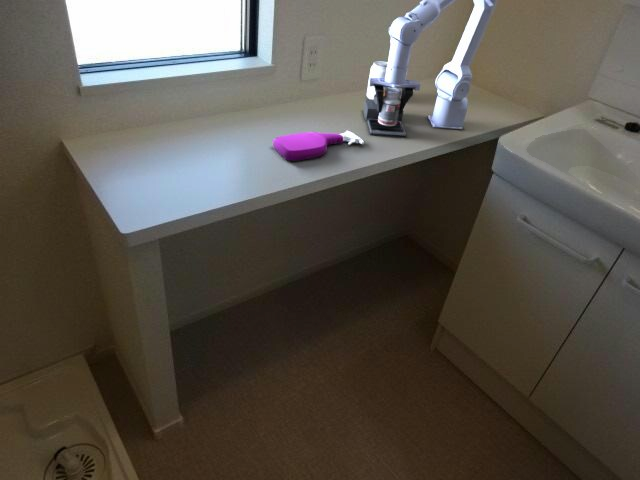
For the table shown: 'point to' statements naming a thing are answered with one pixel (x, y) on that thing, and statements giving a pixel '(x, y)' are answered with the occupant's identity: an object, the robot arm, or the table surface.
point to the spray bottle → (310, 144)
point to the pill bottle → (390, 107)
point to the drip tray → (385, 129)
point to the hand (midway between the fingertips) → (389, 111)
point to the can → (377, 76)
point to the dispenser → (374, 109)
